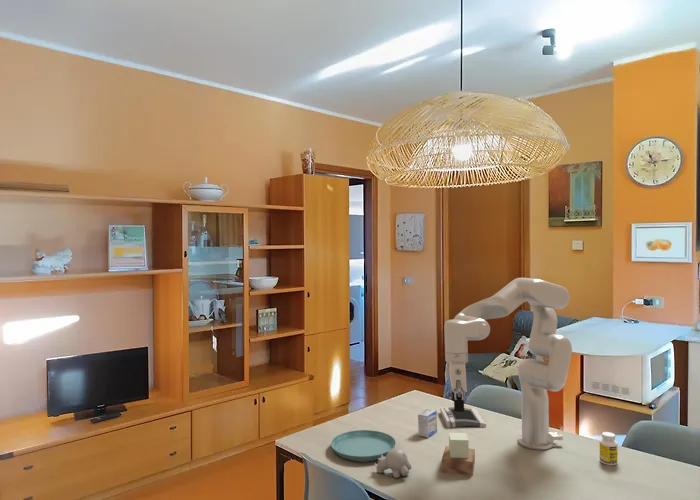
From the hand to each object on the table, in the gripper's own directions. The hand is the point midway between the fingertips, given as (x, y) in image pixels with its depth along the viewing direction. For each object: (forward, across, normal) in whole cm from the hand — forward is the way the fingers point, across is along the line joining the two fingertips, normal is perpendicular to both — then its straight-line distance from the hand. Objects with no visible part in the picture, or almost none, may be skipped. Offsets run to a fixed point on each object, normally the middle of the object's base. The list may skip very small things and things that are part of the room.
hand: (458, 406), depth 169 cm
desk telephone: (+22, +44, -4) cm, 49 cm away
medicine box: (+21, +28, +10) cm, 36 cm away
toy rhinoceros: (+21, -7, +23) cm, 32 cm away
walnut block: (+21, 0, 0) cm, 21 cm away
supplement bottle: (+22, +8, -50) cm, 56 cm away
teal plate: (+21, +11, +34) cm, 42 cm away
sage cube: (+16, 0, 0) cm, 16 cm away
